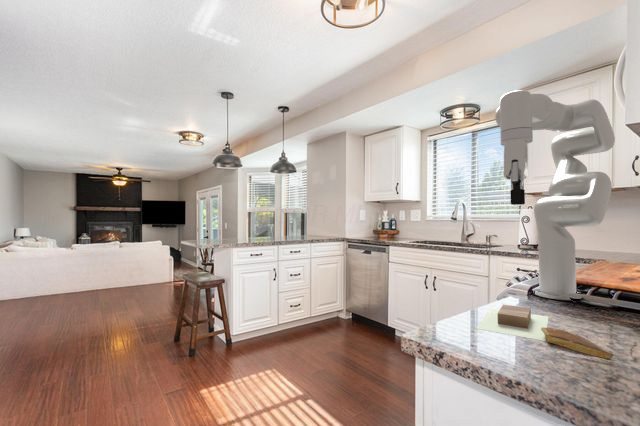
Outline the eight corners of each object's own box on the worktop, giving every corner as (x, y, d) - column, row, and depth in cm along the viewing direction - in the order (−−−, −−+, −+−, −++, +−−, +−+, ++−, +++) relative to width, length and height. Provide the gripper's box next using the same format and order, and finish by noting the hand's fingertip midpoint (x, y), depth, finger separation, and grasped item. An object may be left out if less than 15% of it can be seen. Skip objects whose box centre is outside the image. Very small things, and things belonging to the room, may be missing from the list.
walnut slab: (503, 304, 84) (497, 313, 77) (530, 308, 80) (527, 317, 73) (503, 314, 84) (497, 323, 77) (530, 318, 80) (527, 328, 73)
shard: (612, 363, 57) (613, 353, 57) (565, 356, 58) (566, 346, 58) (574, 339, 68) (575, 331, 68) (534, 334, 69) (535, 325, 69)
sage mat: (490, 310, 89) (490, 308, 89) (548, 318, 81) (548, 316, 81) (476, 331, 74) (476, 328, 74) (545, 343, 66) (545, 340, 66)
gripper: (504, 144, 97) (505, 205, 97) (496, 135, 85) (498, 204, 85) (534, 140, 93) (535, 204, 93) (530, 130, 81) (532, 203, 81)
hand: (517, 204), depth 89 cm, fingers closed
